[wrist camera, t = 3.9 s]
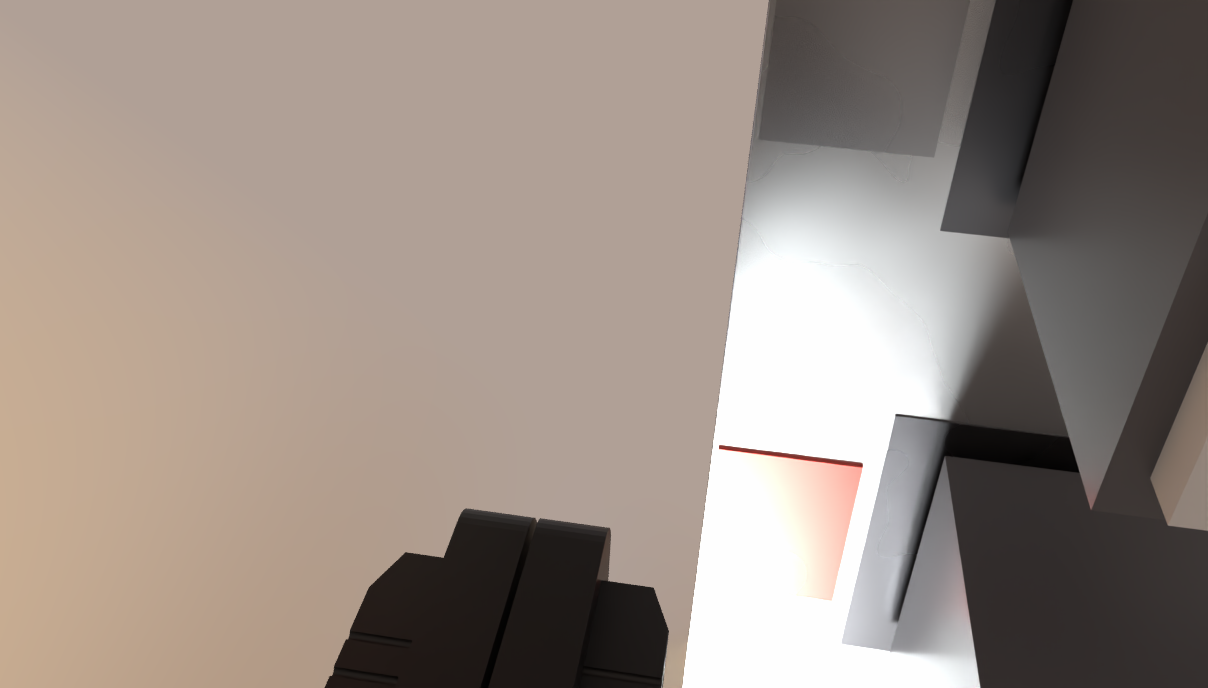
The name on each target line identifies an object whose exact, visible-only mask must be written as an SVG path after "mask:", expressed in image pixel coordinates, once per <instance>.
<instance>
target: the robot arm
mask: <svg viewBox="0 0 1208 688" xmlns="http://www.w3.org/2000/svg"><path fill="white" fill-rule="evenodd" d="M610 541H611V531H610V528H605V527H598V526H590V525H584V524H577V523H569V522H561V521H555V520H547V519H541V518H540V519H539V521H538V522H537V521H536V519H535V518H531V517H523V516H517V515H510V514H502V513H495V512H488V511H481V510H474V509H464V510H463V512H462V513H461V515H460V517H459V519H458V522H457V524H456V527H455V529H454V532H453V535H452V537H451V540H450V543H449V545H448V548H447V551H446V553H445V556H444V558H441V557H434V556H427V555H420V554H413V553H407V552H406V553H404V555H402V556H401V557H400V558H399V559H398V560H397V561H396V562H395V563H394V564H393V565H392V566H391V567H390V568H389V569H388V570H387V571H386V572H385V573H384V574H382V575H381V576H380V577H379V578H378V579H377V580H376V581H375V582H374V583H373V584H372V585H371V586H370V587H369V589H368V591H367V593H366V595H365V598H364V600H363V602H362V604H361V607H360V609H359V611H358V613H357V616H356V618H355V620H354V623H353V625H352V627H351V629H350V636H349V639H348V640H346V641H345V643H344V645H343V648H342V650H341V652H340V654H339V656H338V659H337V661H336V663H335V666H334V672H333V675H332V676H330V677H329V679H328V681H327V684H326V686H325V688H663V681H664V671H665V662H666V653H667V644H668V635H669V630H668V627H667V625H666V622H665V619H664V616H663V613H662V610H661V607H660V605H659V602H658V599H657V596H656V593H655V590H654V588H651V587H645V586H638V585H631V584H624V583H617V582H610V581H608V574H609V556H610Z"/></svg>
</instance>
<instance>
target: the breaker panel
mask: <svg viewBox="0 0 1208 688" xmlns="http://www.w3.org/2000/svg"><path fill="white" fill-rule="evenodd" d="M1072 3H1073V0H769V4H768V12H767V20H766V28H765V35H764V44H763V51H762V60H761V67H760V75H759V83H758V91H757V99H756V107H755V114H754V122H753V130H752V138H751V146H750V154H749V163H748V170H747V178H746V186H745V193H744V202H743V209H742V217H741V226H740V233H739V241H738V249H737V257H736V265H735V273H734V280H733V288H732V296H731V305H730V312H729V320H728V328H727V337H726V344H725V352H724V360H723V368H722V376H721V384H720V392H719V399H718V407H717V415H716V423H715V431H714V439H713V446H712V454H711V462H710V470H709V478H708V486H707V494H706V502H705V510H704V518H703V526H702V533H701V542H700V549H699V557H698V566H697V574H696V581H695V589H694V597H693V605H692V613H691V620H690V628H689V636H688V644H687V653H686V661H685V670H684V679H683V688H890V678H889V664H888V657H889V653H890V650H891V646H892V642H893V639H894V635H895V632H896V628H897V625H898V621H899V618H900V614H901V610H902V607H903V603H904V600H905V596H906V593H907V589H908V586H909V582H910V578H911V575H912V571H913V568H914V564H915V561H916V557H917V554H918V550H919V546H920V543H921V539H922V536H923V532H924V529H925V525H926V522H927V518H928V514H929V511H930V507H931V504H932V500H933V497H934V493H935V490H936V486H937V482H938V479H939V475H940V472H941V468H942V465H943V461H944V458H945V456H950V457H958V458H966V459H974V460H981V461H989V462H997V463H1005V464H1013V465H1021V466H1028V467H1036V468H1044V469H1052V470H1060V471H1068V472H1076V473H1080V472H1079V468H1078V465H1077V462H1076V458H1075V455H1074V452H1073V448H1072V445H1071V442H1070V438H1069V435H1068V432H1067V428H1066V425H1065V422H1064V418H1063V415H1062V411H1061V408H1060V405H1059V401H1058V398H1057V395H1056V391H1055V388H1054V385H1053V381H1052V378H1051V375H1050V371H1049V368H1048V365H1047V361H1046V358H1045V355H1044V351H1043V348H1042V345H1041V341H1040V338H1039V335H1038V331H1037V328H1036V325H1035V321H1034V318H1033V315H1032V311H1031V308H1030V305H1029V301H1028V298H1027V295H1026V291H1025V288H1024V285H1023V281H1022V278H1021V275H1020V271H1019V268H1018V265H1017V261H1016V258H1015V255H1014V251H1013V248H1012V245H1011V241H1010V238H1009V235H1008V230H1009V227H1010V223H1011V219H1012V216H1013V212H1014V209H1015V205H1016V202H1017V198H1018V195H1019V191H1020V187H1021V184H1022V180H1023V177H1024V173H1025V170H1026V166H1027V163H1028V159H1029V155H1030V152H1031V148H1032V145H1033V141H1034V138H1035V134H1036V131H1037V127H1038V123H1039V120H1040V116H1041V113H1042V109H1043V106H1044V102H1045V99H1046V95H1047V91H1048V88H1049V84H1050V81H1051V77H1052V74H1053V70H1054V67H1055V63H1056V59H1057V56H1058V52H1059V49H1060V45H1061V42H1062V38H1063V35H1064V31H1065V27H1066V24H1067V20H1068V17H1069V13H1070V10H1071V6H1072Z"/></svg>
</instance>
